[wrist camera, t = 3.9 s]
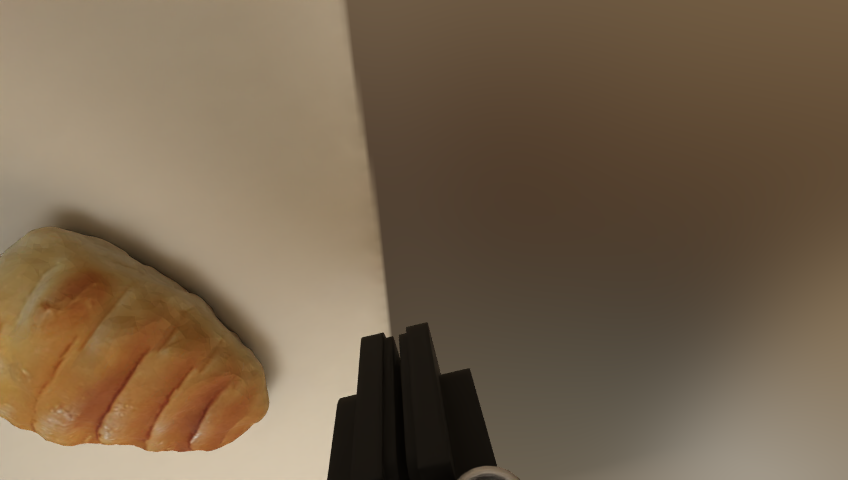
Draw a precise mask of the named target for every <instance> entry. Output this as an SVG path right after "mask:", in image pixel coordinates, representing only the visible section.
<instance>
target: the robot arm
mask: <svg viewBox="0 0 848 480" xmlns="http://www.w3.org/2000/svg"><path fill="white" fill-rule="evenodd" d="M406 332H407V333H405V334H401V335H399V345H400V357H399V354H398V351H397V347H396V344H395V340H394V338H393V336H392V337H388V338H386V337H385V334H384V333H379V334H375V335H371V336H366V337H362V338H361V347H360V360H359V372H358V385H357V394H356V395H352V396H348V397H343V398H340V399H339V401H338V404H337V410H336V418H335V425H334V433H333V440H332V448H331V455H330V463H329V470H328V478H327V480H520V479H519V478H518V477H517V476H515V475H514V474H513V473H511V472H510V471H508V470H506V469H503V468H500V467H497V464H496V461H495V457H494V453H493V450H492V447H491V443H490V439H489V436H488V432H487V429H486V425H485V421H484V418H483V415H482V411H481V407H480V404H479V400H478V396H477V393H476V389H475V386H474V382H473V379H472V376H471V372H470V369H464V370H460V371H455V372H451V373H447V374H442V375H441V373H440V369H439V365H438V361H437V357H436V354H435V350H434V345H433V342H432V338H431V334H430V330H429V326H428V323H422V324H418V325H414V326H410V327H406Z"/></svg>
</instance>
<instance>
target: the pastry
mask: <svg viewBox="0 0 848 480" xmlns="http://www.w3.org/2000/svg"><path fill="white" fill-rule="evenodd" d="M268 407H269V397H268V392H267V387H266V380H265V374H264V370H263V367H262V365H261V363H260V362H259V361H258V359H257V358H256V357H255V356H254V354H253V352H252V350H251V349H248V348H247V347H246V346H244V345H243V344H242V343H241V340H240V338H239V337H238V335H237V334H235V333H234V332H230V331H229V330H228V329H227V328H226V327H225V326H224V325H223V324H222V323H221V322H220V321H219V320H218V318H217V317H216V316H215V314H214V312H213V310H212V308H211V307H210V306H209V305H208V304H207V303H206V302H205V301H204V300H203V299H202V298H200V297H199V296H198V295H196V294H192V293H188V292H187V291H186V289H184V288H183V287H181V286H180V285H179V284H178V283H177V282H175V281H174V280H172V279H170V278H168V277H166V276H164V275H163V274H161V273H160V272H158V271H157V270H156V269H154V268H153V267H151V266H145V265H143V264H141V263H140V262H138V261H137V260H135V259H133V258H131V257H130V256H129V255H128V254H127V253H126V252H125V251H123V250H122V249H120V248H118V247H116V246H115V245H113V244H111V243H109V242H107V241H105V240H103V239H100V238H97V237H92V236H86V235H82V234H79V233H77V232H73V231H67V230H64V229H61V228H57V227H43V228H39V229H35V230H32V231H30V232H29V233H27V234H26V235H25V236H24V237H22V238H21V239H20V240H18V241H17V242H16V243H15V244H13V245H12V246H11V247H10V248H8V249H7V250H6V251H5V253H4V254H3V255H2V256H1V257H0V417H3V418H5V419H6V420H8V421H9V422H10V423H11V424H13V425H14V426H16V427H18V428H20V429H25V430H31V431H33V432H36V433H38V434H39V435H40V436H42V437H43V438H44V439H45V440H47V441H51V442H54V443H57V444H60V445H63V446H74V445H78V444H83V443H96V444H97V443H101V444H104V445H114V444H118V445H135V446H137V447H140V448H142V449H144V450H147V451H154V452H159V451H170V450H174V451H178V452H185V451H195V450H204V451H212V450H215V449H217V448H220V447H222V446H224V445H226V444H228V443H231V442H233V441H234V440H235V439H237V438H238V437H239V436H241V435H242V434H243V433H244V432H246V431H247V430H248V429H249V428H250V427H251V426H252V425H253V424H254V423H257V422H259V421H260V420H261V419H262V418H263V417H264V416H265V414H266V412H267V410H268Z"/></svg>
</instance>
